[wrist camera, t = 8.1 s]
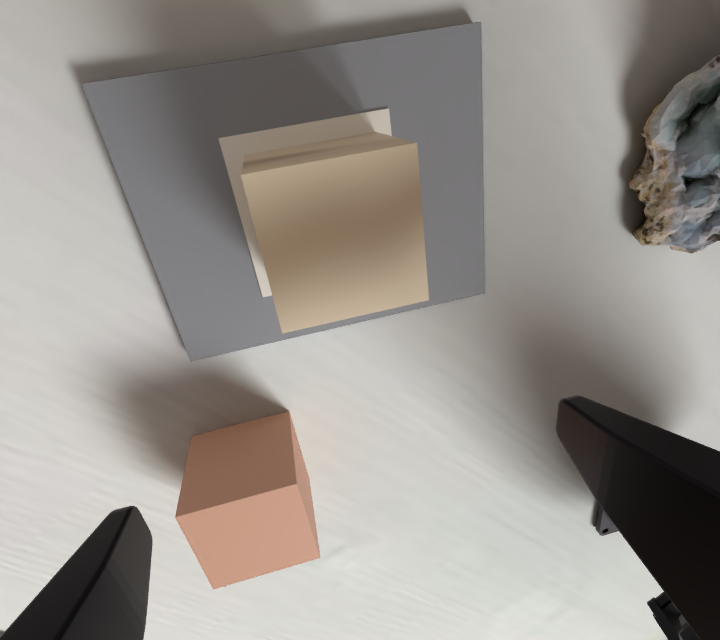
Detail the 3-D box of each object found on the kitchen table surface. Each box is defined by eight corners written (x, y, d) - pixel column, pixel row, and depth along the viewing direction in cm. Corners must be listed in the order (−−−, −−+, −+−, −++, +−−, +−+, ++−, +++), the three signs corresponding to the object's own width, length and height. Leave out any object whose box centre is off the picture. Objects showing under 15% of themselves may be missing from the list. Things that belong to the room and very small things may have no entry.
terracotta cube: (309, 477, 25) (320, 557, 21) (221, 502, 24) (213, 589, 20) (289, 409, 23) (296, 483, 18) (191, 434, 22) (175, 517, 18)
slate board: (479, 288, 22) (485, 293, 21) (192, 354, 20) (190, 362, 19) (473, 24, 17) (482, 21, 16) (87, 84, 15) (80, 83, 14)
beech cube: (389, 254, 19) (429, 300, 15) (276, 278, 19) (282, 333, 14) (375, 131, 17) (417, 142, 12) (244, 155, 16) (240, 174, 12)
